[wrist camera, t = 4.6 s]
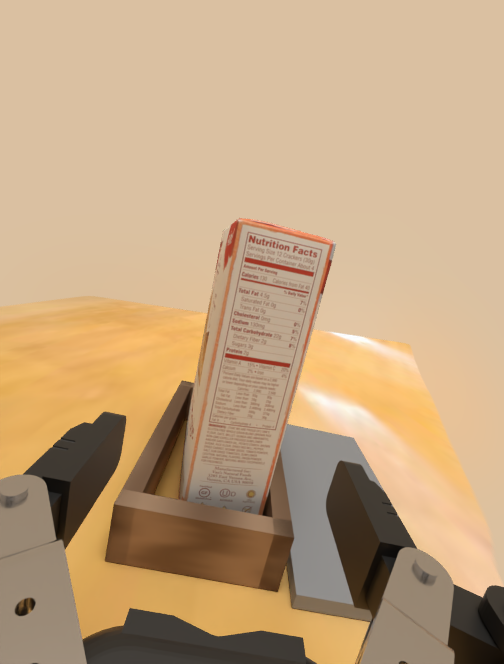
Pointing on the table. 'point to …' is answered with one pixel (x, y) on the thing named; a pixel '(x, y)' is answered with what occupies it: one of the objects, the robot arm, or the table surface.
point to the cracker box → (251, 361)
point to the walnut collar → (197, 521)
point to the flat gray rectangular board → (317, 520)
